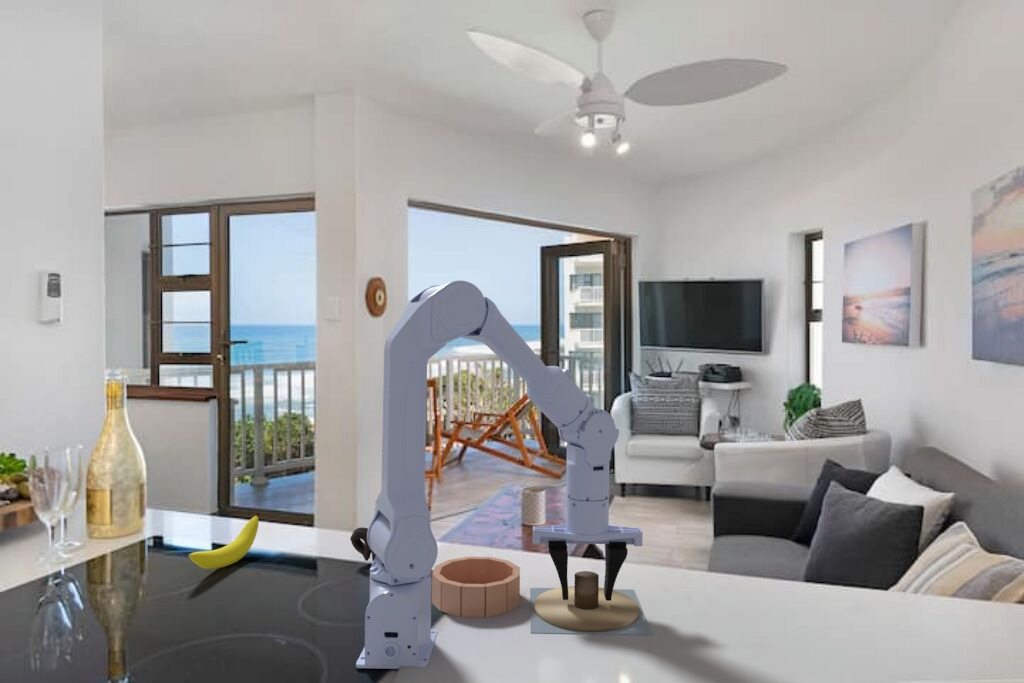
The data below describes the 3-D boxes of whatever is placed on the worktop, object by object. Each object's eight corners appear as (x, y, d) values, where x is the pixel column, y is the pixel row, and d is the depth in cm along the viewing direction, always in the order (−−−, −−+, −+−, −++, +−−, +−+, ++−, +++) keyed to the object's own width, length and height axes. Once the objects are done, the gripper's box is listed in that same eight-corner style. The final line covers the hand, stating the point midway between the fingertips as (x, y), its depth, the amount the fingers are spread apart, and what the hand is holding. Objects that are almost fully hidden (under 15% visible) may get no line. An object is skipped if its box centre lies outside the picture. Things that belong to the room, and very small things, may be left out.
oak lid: (648, 632, 84) (648, 595, 84) (534, 631, 84) (535, 594, 84) (630, 591, 98) (630, 559, 98) (533, 589, 98) (533, 557, 98)
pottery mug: (422, 557, 116) (431, 521, 112) (410, 600, 107) (420, 563, 103) (353, 539, 115) (361, 502, 111) (336, 581, 107) (343, 543, 103)
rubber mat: (652, 639, 83) (652, 635, 83) (530, 637, 84) (530, 632, 84) (633, 593, 98) (633, 589, 98) (530, 591, 99) (530, 587, 99)
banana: (179, 587, 99) (179, 544, 99) (250, 547, 118) (250, 511, 118) (197, 589, 99) (197, 545, 99) (265, 548, 117) (265, 512, 117)
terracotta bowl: (518, 621, 88) (519, 587, 88) (427, 620, 88) (427, 585, 88) (519, 587, 100) (520, 557, 100) (439, 586, 100) (439, 556, 100)
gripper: (636, 490, 95) (635, 587, 95) (533, 488, 95) (532, 585, 95) (645, 502, 88) (644, 607, 88) (533, 500, 88) (532, 605, 88)
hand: (586, 597), depth 91 cm, fingers open, 5 cm apart
